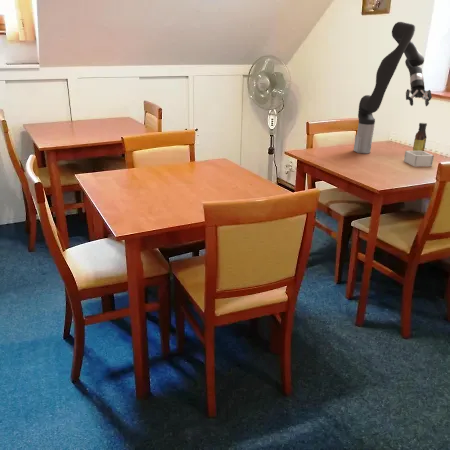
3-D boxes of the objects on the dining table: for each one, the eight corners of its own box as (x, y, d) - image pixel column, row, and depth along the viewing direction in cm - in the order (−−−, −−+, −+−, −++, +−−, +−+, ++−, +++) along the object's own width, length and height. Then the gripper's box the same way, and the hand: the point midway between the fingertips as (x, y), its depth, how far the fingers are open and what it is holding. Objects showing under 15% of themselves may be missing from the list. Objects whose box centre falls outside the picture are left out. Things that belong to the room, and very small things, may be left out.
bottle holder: (414, 166, 251) (416, 155, 249) (403, 161, 261) (405, 150, 259) (431, 166, 252) (433, 155, 250) (420, 160, 263) (422, 150, 260)
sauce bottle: (423, 158, 268) (430, 124, 260) (412, 158, 269) (418, 123, 261) (421, 156, 274) (428, 122, 266) (410, 155, 275) (416, 122, 267)
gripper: (407, 78, 273) (409, 100, 267) (431, 79, 273) (434, 101, 267) (403, 86, 280) (405, 108, 274) (426, 87, 280) (429, 109, 274)
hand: (419, 105), depth 271 cm, fingers open, 8 cm apart
